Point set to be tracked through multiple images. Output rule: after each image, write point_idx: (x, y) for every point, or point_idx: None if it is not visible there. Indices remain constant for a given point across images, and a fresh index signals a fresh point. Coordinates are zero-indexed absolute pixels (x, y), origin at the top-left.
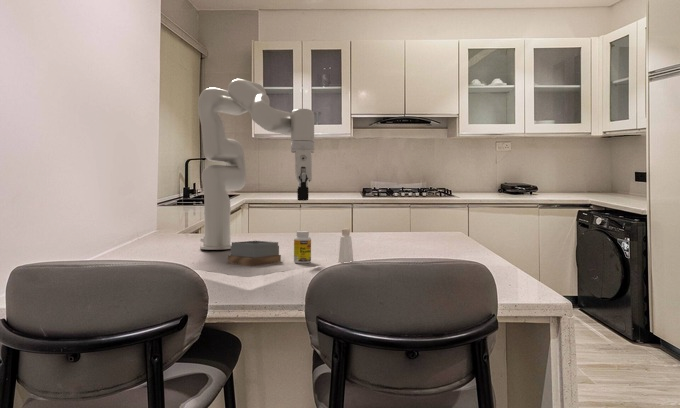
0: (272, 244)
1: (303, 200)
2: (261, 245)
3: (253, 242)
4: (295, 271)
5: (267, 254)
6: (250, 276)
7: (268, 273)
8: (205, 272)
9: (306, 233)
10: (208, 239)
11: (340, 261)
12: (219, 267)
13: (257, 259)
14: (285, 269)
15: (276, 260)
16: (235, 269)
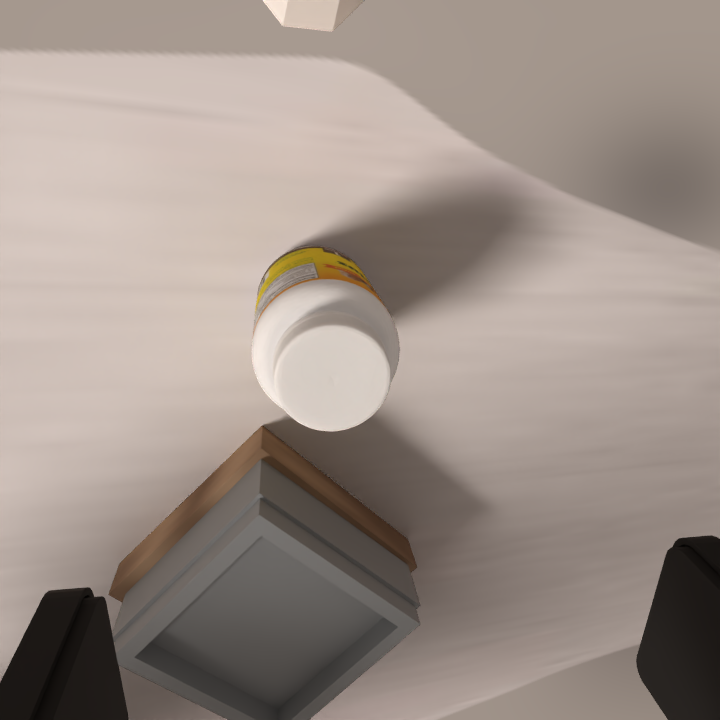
0: (303, 536)
1: (103, 637)
2: (376, 585)
3: (155, 658)
4: (648, 337)
5: (335, 519)
6: (716, 504)
7: (666, 449)
8: (563, 661)
9: (379, 340)
10: None
11: (349, 13)
12: (433, 651)
13: (393, 544)
14: (567, 386)
15: (289, 453)
16: (510, 585)
